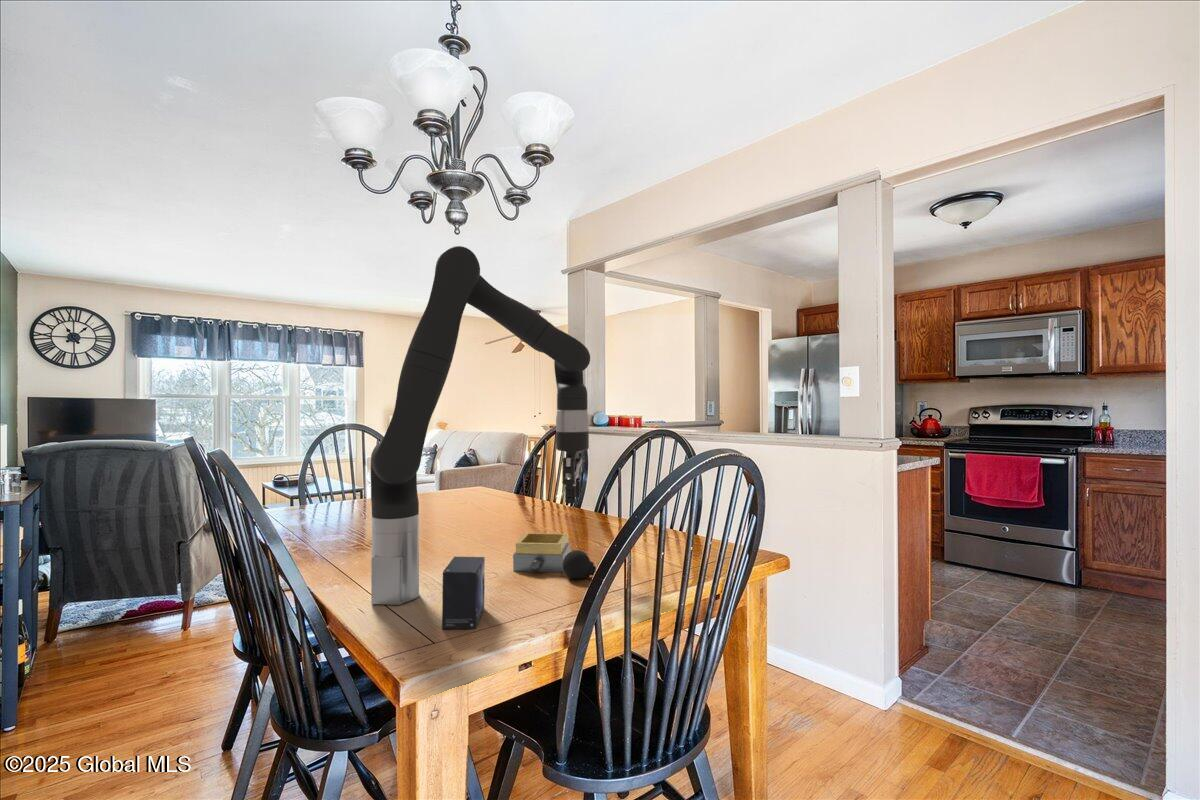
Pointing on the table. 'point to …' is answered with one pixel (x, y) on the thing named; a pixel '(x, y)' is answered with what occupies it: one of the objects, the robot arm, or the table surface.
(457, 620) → the small box
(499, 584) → the table surface
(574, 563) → the light bulb
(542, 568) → the tan and grey block
